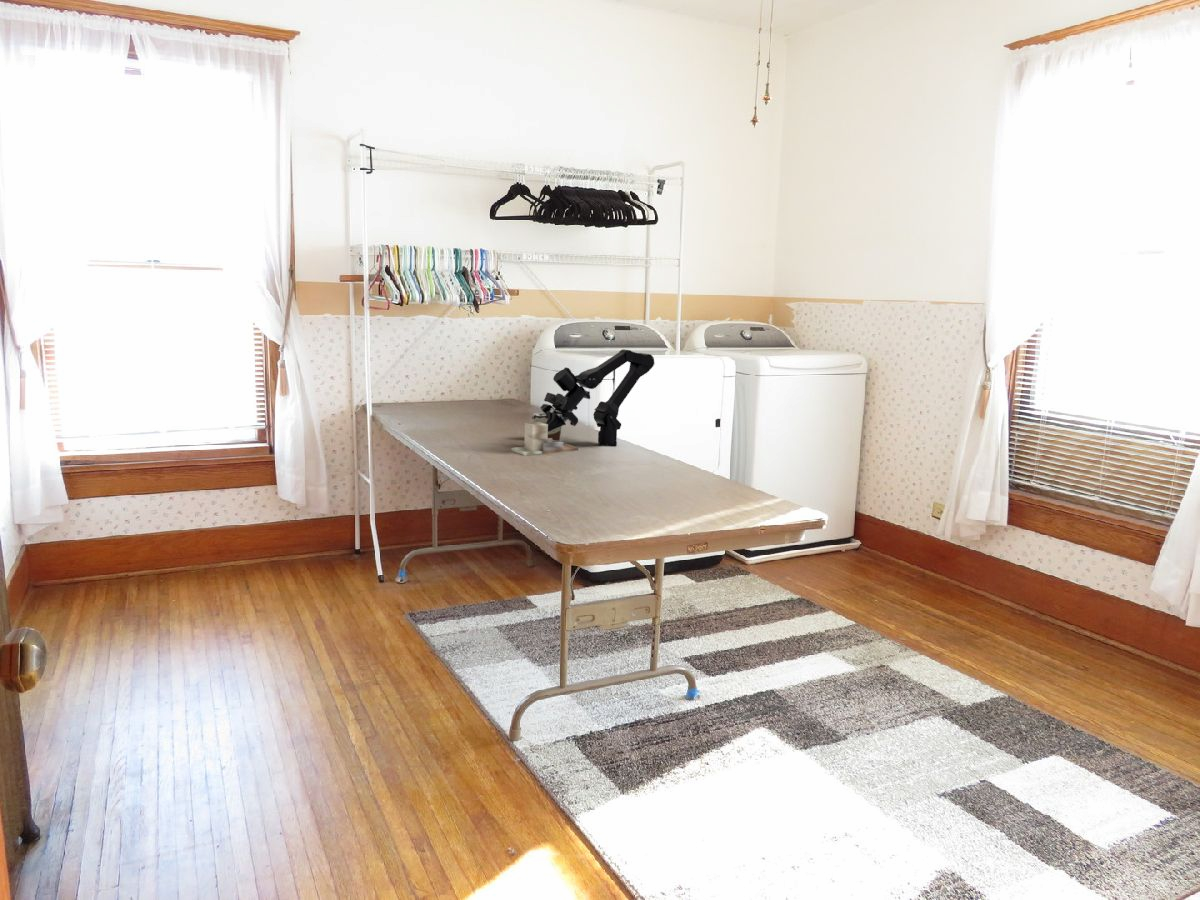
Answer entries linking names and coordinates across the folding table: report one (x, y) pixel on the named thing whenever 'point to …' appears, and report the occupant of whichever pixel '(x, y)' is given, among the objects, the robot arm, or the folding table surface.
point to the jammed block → (535, 435)
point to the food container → (543, 418)
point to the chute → (546, 448)
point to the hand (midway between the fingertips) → (544, 432)
